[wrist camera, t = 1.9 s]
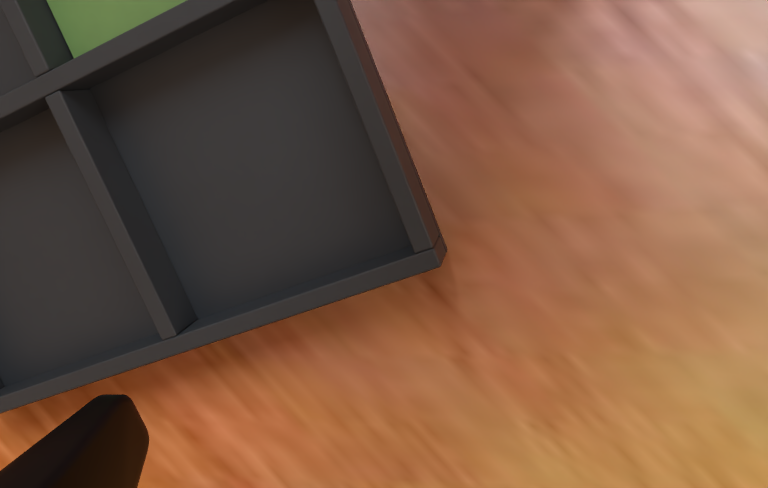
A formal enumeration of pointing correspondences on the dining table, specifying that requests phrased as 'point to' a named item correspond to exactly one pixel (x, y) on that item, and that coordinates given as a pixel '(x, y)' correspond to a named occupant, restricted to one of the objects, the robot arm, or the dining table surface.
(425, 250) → the grid
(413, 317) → the dining table surface
